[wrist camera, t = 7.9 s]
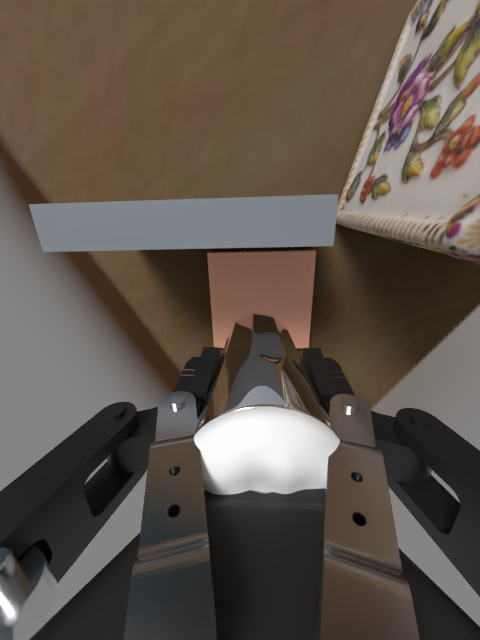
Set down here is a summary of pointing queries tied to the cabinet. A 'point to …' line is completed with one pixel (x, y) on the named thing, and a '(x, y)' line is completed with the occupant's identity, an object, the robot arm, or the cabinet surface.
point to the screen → (187, 223)
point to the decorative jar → (424, 138)
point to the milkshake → (263, 416)
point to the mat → (262, 290)
